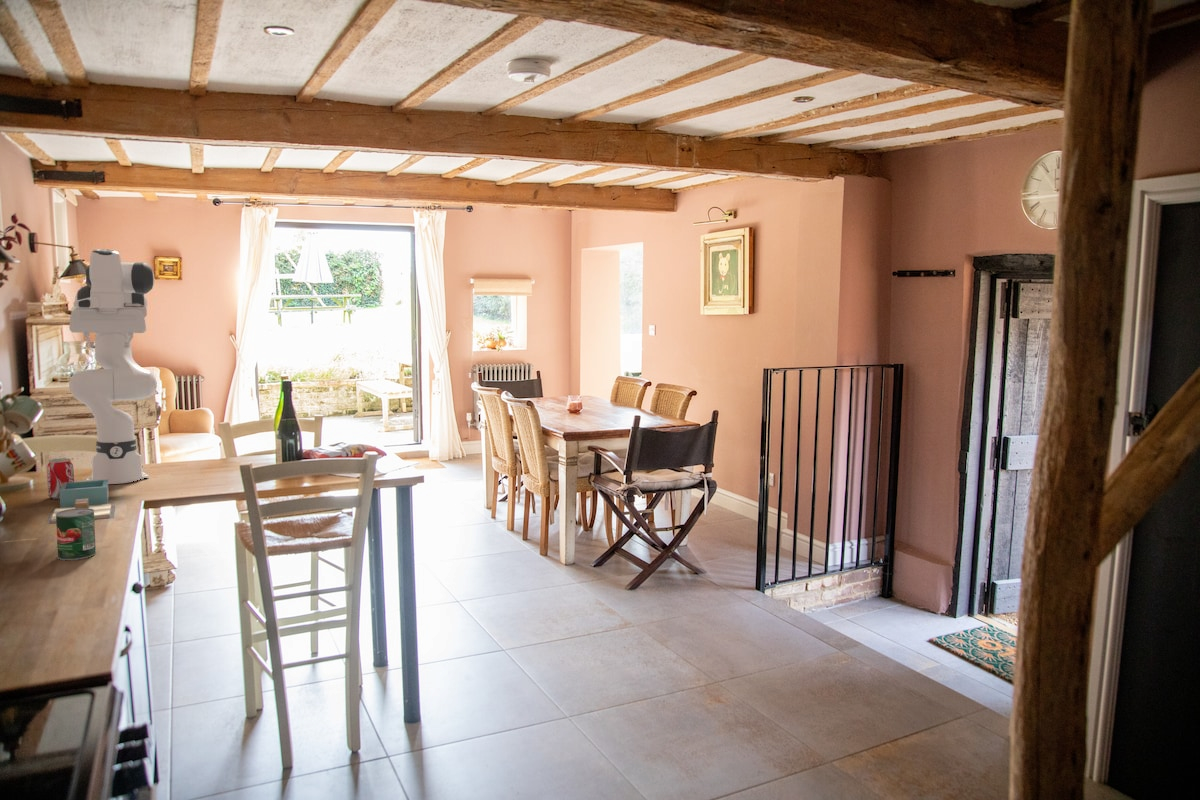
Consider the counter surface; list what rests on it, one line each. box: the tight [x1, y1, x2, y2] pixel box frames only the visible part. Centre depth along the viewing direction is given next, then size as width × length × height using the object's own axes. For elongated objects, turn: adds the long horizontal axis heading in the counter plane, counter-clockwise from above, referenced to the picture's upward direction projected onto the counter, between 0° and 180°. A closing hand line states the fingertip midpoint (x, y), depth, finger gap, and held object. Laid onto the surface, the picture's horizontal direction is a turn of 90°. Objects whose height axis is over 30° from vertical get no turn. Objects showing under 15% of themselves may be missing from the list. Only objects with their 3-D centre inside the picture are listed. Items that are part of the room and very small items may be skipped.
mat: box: [46, 505, 116, 525], centre depth 234 cm, size 16×16×1 cm
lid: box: [51, 498, 112, 524], centre depth 234 cm, size 14×14×4 cm
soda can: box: [46, 457, 75, 500], centre depth 255 cm, size 7×7×12 cm
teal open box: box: [59, 479, 110, 508], centre depth 247 cm, size 12×12×6 cm
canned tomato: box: [55, 508, 97, 561], centre depth 197 cm, size 8×8×11 cm
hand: (109, 347), depth 249 cm, fingers open, 8 cm apart
